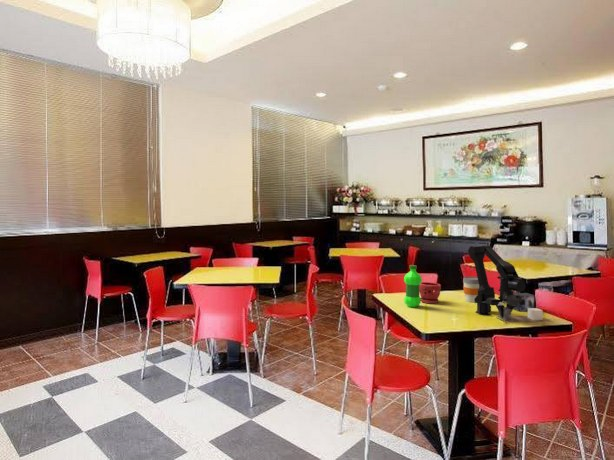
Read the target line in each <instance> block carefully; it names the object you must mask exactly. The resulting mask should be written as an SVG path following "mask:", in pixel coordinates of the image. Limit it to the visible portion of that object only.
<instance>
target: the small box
mask: <svg viewBox="0 0 614 460" xmlns="http://www.w3.org/2000/svg"><path fill="white" fill-rule="evenodd" d="M514 295H515V296H517V295H521V296H522V299H524V300H525V305H519V304H518V306H516V307H514V308H513V310H512V311H517V312H528V308H535V295H534V294H531V293H528V292H523V293H522V292H518V293H514Z"/></svg>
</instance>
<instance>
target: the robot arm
mask: <svg viewBox="0 0 614 460" xmlns="http://www.w3.org/2000/svg"><path fill="white" fill-rule="evenodd" d="M467 253H468V255H469V258H470V259H471V261H472V262H473V264H474V268H475V273H476V277H477V278H478V282H479V289H478V295H477V296H476V298H475V299H474V300H475V304H476V311H475V313H476V314H478V315H480V316H492V314H491V312H492V306H495V307H496V308H497V311H498V312H499V313H500V316H501V317H502V318H503V308H504V307H507V308H509V309H511V313H512V312H513V311H514V310H513V308H514V307H516V306H518V304H519V305H525V300H524V299H522V296H521V295H517V296H515V295H514V294H515V293H514V292H518V293H522V292H523V293H524V291H525V290H526V286H527V285H526V283H525V281H524V279H523V278H522V277H521V278H520V276H519V275H518V272H517V271H516V269H515V266H514V265H513V264H511V263H510V262H509V261H506V260H504V259H503V258H502V257H501V256H500V255H499V254H498V253H497V252H496V251H495V250H494V249H493V246H491V245H489V244H488V245H487V244H486V245H472V246H471V245H470V246H469V248H468V250H467ZM485 257H487V258H488V260H490V261H491V262H492V264H493V265H494V266H495V268H496V271H497V272H498V274H499V275H498V276H497V279H498V280H499V282H500V283H499V288H498V292H499V296H498V298H496V292H495V287H493V286H490V284H489V281H488V276H487V272H486V268H485V267H486V266H485V262H484V258H485ZM504 304H506V305H504ZM499 313H498V314H499Z"/></svg>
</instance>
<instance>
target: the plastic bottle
mask: <svg viewBox="0 0 614 460" xmlns="http://www.w3.org/2000/svg"><path fill="white" fill-rule="evenodd" d="M409 269H410V271H408V272H407V273H406V274H405V275H404V277H403V282H404V283H405V295H404V296H405V297H404V298H403V299H404V300H403V301H404V304H405V305H406V306H407V307H408V308H417V307H418V306H419V305H420V304H421V302H422V301H421V299H420V298H421V296H420V291H419V286H420V283H421V282H422V280H423V278H422V275H420V273H418V272H417V269H418V268H417V265H414V264H410V265H409Z"/></svg>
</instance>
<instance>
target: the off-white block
mask: <svg viewBox="0 0 614 460" xmlns="http://www.w3.org/2000/svg"><path fill="white" fill-rule="evenodd" d="M543 313H544V311H543V309H540V308H537V307H534V308H528V311H527V316H528V317H527V318H530V319H532V320H542V317H543Z"/></svg>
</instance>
